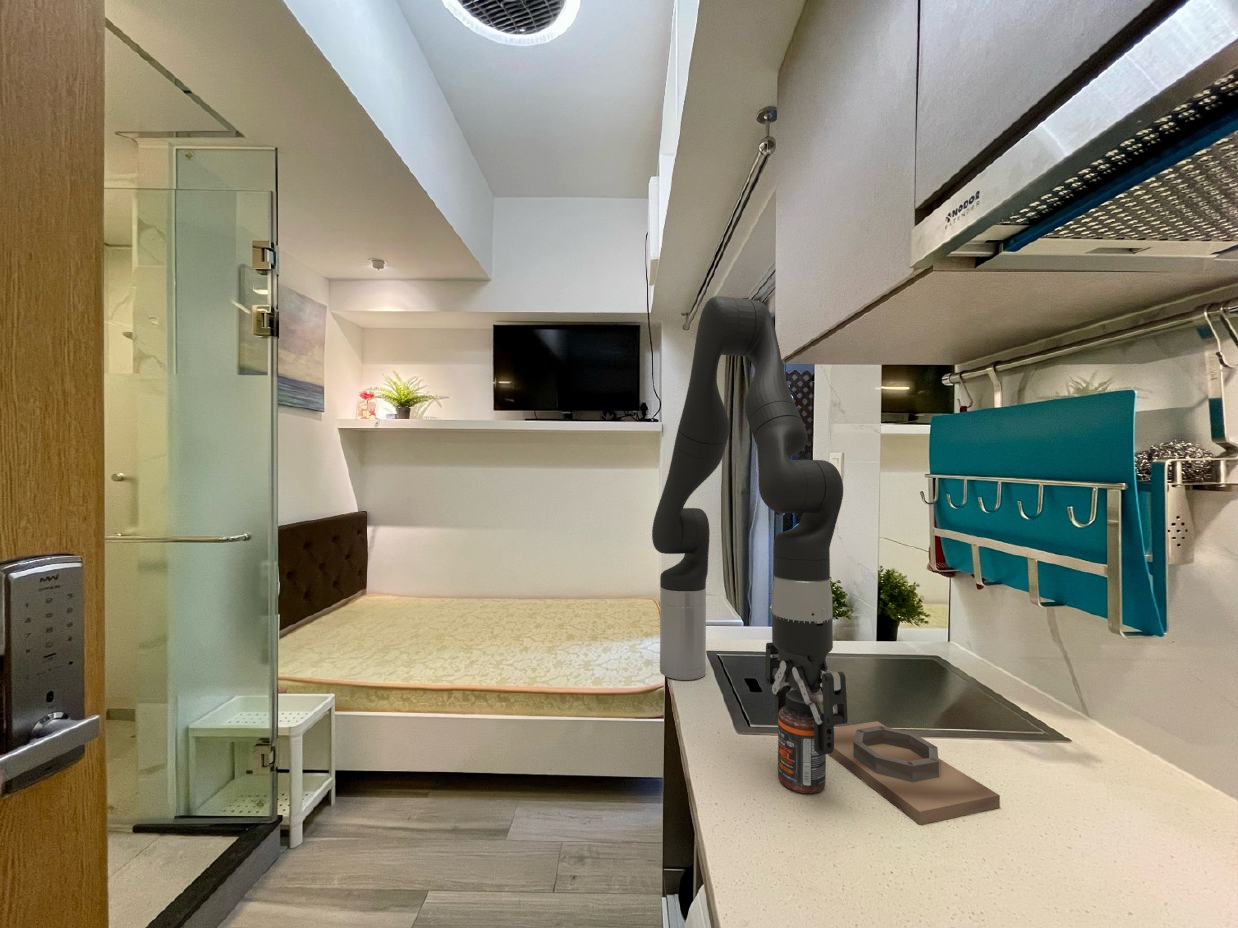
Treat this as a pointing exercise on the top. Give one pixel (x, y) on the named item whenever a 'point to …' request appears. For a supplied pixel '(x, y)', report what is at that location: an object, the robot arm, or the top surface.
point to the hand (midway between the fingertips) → (802, 736)
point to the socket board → (918, 793)
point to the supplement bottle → (799, 747)
